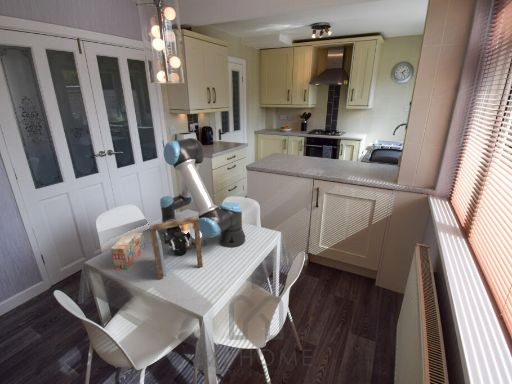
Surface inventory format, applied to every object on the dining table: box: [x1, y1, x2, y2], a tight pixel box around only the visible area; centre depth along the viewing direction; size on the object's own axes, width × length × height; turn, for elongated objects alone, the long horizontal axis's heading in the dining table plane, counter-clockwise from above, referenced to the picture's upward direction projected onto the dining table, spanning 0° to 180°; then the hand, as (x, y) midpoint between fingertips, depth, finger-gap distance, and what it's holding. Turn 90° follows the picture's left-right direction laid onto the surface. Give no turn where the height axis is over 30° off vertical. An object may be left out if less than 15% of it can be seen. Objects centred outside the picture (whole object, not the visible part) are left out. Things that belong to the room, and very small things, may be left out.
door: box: [156, 230, 167, 277], centre depth 130 cm, size 14×2×18 cm, turn 27°
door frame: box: [149, 215, 204, 280], centre depth 126 cm, size 21×2×27 cm, turn 117°
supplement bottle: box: [172, 231, 188, 257], centre depth 144 cm, size 7×7×12 cm
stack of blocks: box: [110, 232, 146, 271], centre depth 141 cm, size 21×6×12 cm, turn 178°
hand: (181, 245), depth 139 cm, fingers closed on supplement bottle, 7 cm apart
